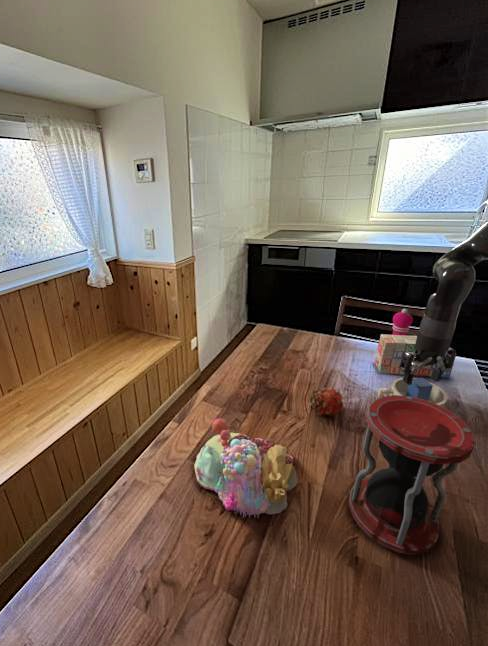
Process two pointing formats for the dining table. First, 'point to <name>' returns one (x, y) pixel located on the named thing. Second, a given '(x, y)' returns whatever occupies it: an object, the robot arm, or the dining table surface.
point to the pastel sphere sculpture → (245, 471)
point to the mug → (401, 388)
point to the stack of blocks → (400, 355)
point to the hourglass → (407, 471)
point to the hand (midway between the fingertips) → (421, 381)
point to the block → (419, 389)
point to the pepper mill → (401, 322)
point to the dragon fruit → (326, 402)
